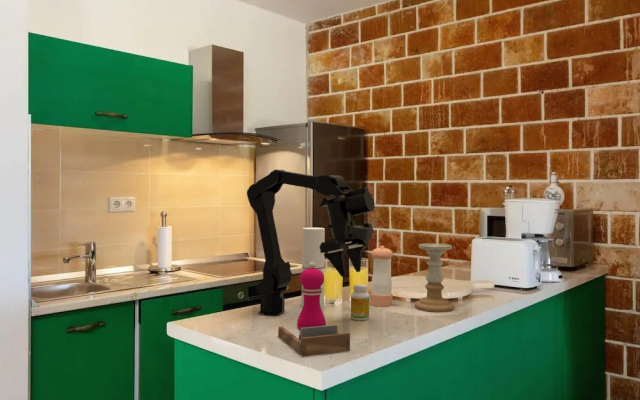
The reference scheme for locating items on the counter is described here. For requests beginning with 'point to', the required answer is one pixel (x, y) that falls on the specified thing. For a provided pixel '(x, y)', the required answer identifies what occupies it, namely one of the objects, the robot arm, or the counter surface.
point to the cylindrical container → (313, 253)
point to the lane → (316, 342)
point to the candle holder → (434, 280)
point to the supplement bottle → (360, 303)
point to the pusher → (318, 330)
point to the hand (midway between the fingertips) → (351, 274)
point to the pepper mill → (311, 298)
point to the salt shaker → (381, 278)
